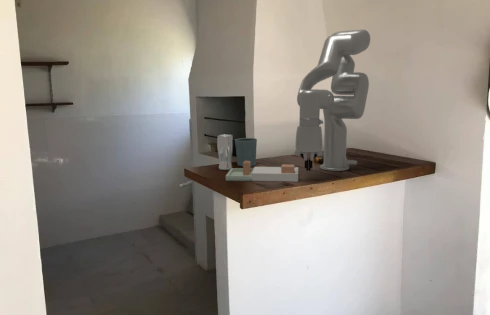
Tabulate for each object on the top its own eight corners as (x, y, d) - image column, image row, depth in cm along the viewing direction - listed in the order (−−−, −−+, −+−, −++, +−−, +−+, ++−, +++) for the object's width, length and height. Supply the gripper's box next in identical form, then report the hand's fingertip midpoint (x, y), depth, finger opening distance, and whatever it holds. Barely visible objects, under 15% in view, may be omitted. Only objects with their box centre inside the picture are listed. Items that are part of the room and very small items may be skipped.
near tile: (294, 170, 167) (294, 164, 166) (294, 173, 162) (294, 167, 162) (281, 170, 167) (281, 164, 167) (281, 173, 163) (281, 166, 162)
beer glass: (221, 170, 183) (221, 136, 180) (215, 168, 189) (214, 134, 186) (236, 169, 186) (235, 135, 183) (229, 166, 192) (228, 133, 189)
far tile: (250, 160, 175) (244, 160, 175) (249, 163, 170) (242, 163, 170) (250, 172, 176) (244, 172, 176) (249, 175, 171) (243, 175, 171)
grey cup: (259, 166, 192) (259, 140, 190) (237, 167, 190) (237, 141, 188) (254, 162, 202) (253, 137, 200) (233, 163, 200) (233, 138, 198)
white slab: (298, 174, 174) (298, 167, 173) (298, 181, 161) (298, 174, 161) (254, 173, 176) (254, 166, 176) (251, 180, 163) (251, 173, 163)
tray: (254, 173, 177) (254, 168, 177) (250, 181, 163) (250, 176, 162) (231, 172, 178) (231, 168, 178) (225, 180, 164) (225, 175, 163)
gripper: (328, 122, 163) (327, 168, 166) (289, 122, 165) (289, 168, 168) (330, 124, 156) (328, 172, 159) (289, 123, 158) (288, 171, 161)
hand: (308, 170), depth 163 cm, fingers closed
